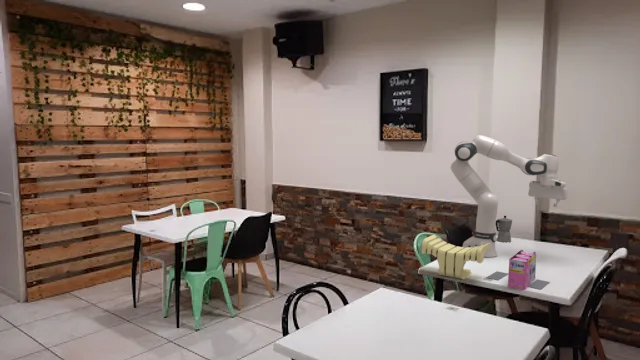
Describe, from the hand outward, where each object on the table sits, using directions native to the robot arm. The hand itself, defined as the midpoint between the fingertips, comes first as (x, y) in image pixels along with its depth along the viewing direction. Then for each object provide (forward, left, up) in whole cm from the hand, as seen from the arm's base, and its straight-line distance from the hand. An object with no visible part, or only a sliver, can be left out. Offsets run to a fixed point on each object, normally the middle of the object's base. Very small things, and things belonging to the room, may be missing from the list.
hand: (546, 205), depth 258 cm
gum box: (+4, -52, -33) cm, 61 cm away
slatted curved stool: (-25, -63, -32) cm, 75 cm away
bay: (+2, -50, -32) cm, 59 cm away
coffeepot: (-35, +34, -32) cm, 59 cm away
